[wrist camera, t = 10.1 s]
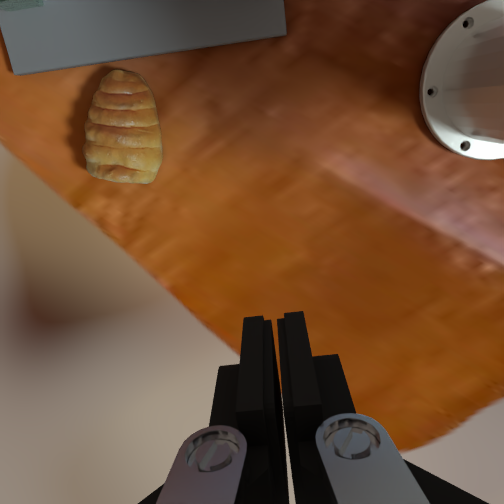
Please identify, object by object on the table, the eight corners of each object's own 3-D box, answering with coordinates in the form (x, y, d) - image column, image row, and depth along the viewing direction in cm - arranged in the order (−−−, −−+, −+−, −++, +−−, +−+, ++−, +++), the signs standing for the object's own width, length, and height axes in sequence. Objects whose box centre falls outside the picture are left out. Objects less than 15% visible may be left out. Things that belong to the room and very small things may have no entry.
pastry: (90, 67, 37) (72, 62, 33) (169, 76, 37) (159, 73, 34) (91, 175, 40) (74, 182, 36) (163, 184, 40) (154, 191, 36)
